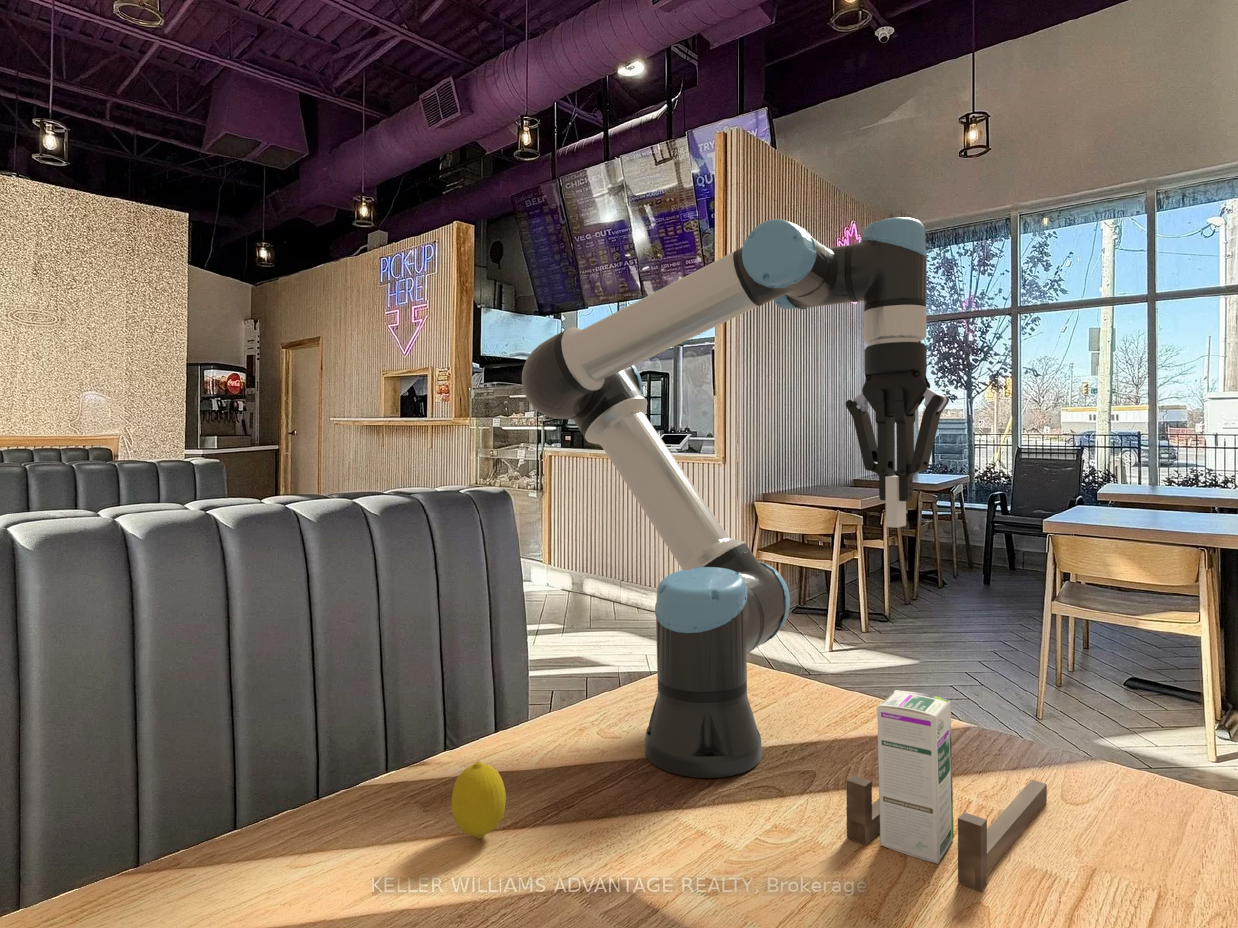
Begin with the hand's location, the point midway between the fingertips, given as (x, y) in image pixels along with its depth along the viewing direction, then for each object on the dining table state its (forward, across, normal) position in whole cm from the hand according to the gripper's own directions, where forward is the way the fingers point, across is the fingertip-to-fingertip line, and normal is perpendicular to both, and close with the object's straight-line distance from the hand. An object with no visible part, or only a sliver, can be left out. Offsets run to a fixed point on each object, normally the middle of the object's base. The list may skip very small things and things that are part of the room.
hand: (895, 526), depth 95 cm
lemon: (+30, +22, +50) cm, 62 cm away
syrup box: (+30, -11, +20) cm, 37 cm away
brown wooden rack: (+29, -12, +13) cm, 34 cm away
